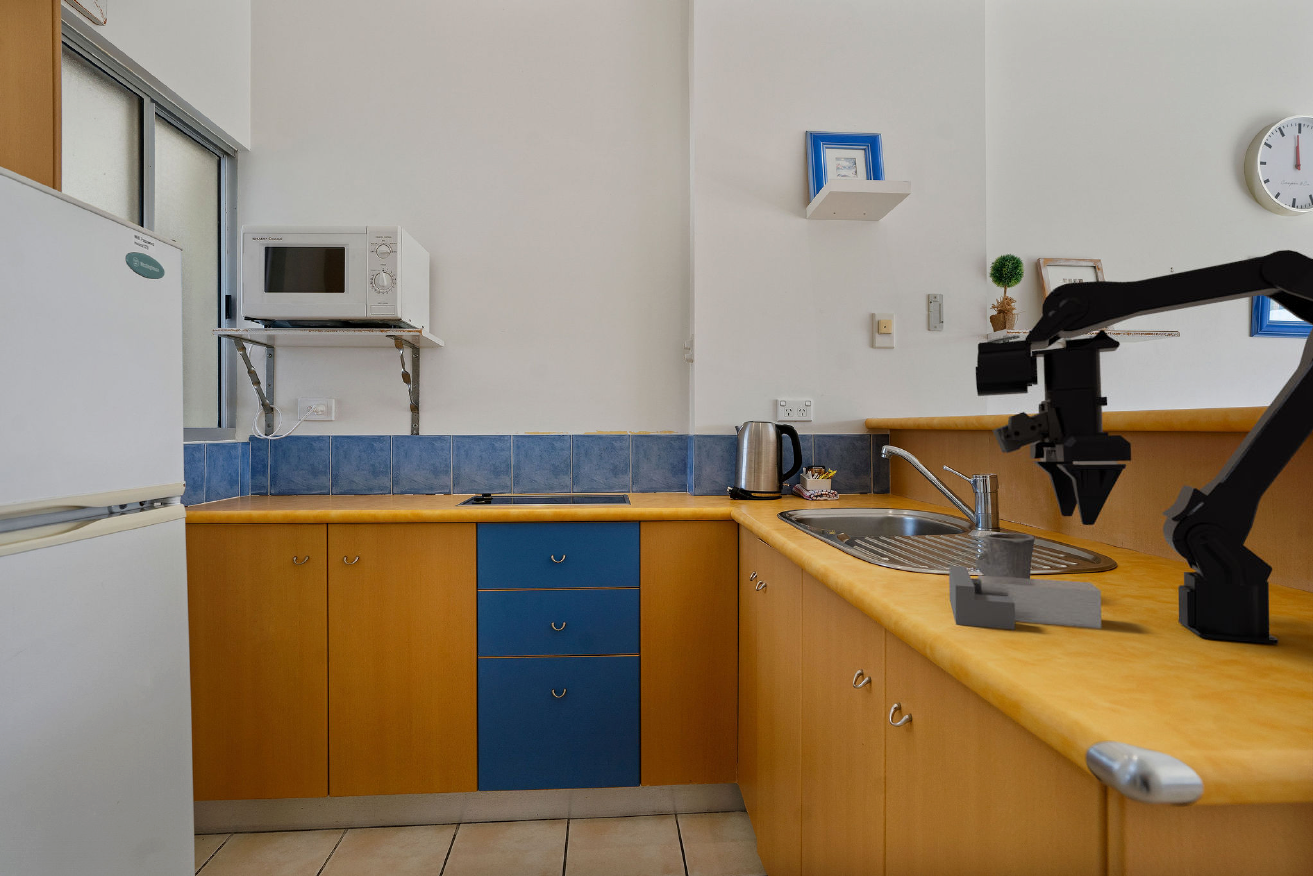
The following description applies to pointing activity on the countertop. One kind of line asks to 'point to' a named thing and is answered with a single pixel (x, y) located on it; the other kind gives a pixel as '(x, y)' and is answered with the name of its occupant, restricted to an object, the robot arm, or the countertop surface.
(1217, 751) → the countertop surface
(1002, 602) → the grey u-shaped block
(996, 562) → the grey tapered cup
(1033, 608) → the long gray post
